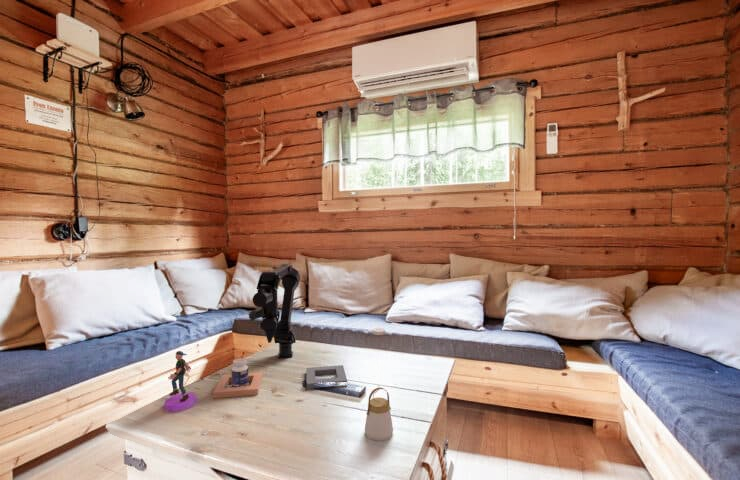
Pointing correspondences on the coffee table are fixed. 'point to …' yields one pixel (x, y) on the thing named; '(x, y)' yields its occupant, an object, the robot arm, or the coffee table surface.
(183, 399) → the figurine
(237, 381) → the pill bottle
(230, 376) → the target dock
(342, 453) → the coffee table surface
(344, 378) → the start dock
